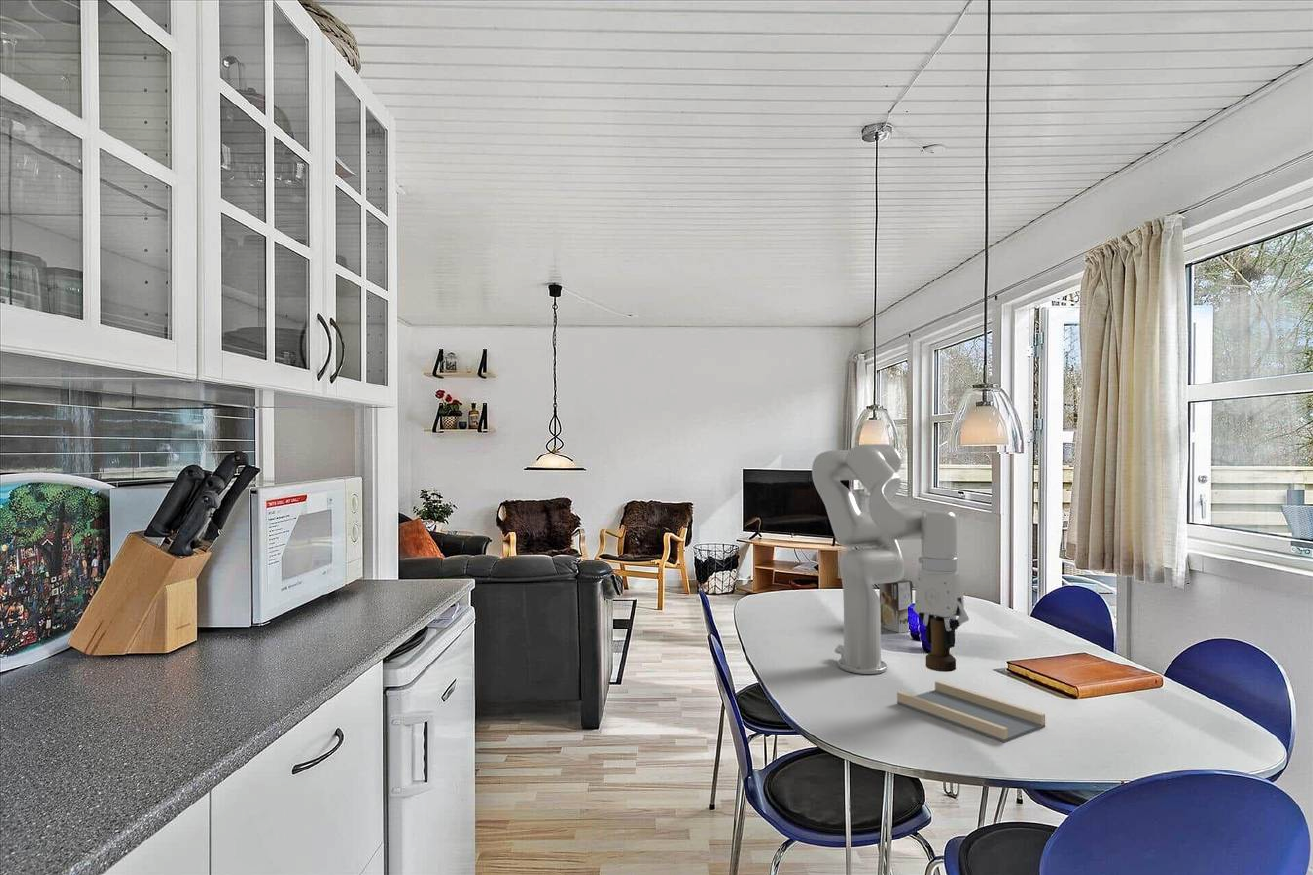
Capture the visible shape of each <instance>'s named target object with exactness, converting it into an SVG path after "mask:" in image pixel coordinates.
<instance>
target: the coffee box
mask: <svg viewBox="0 0 1313 875" xmlns="http://www.w3.org/2000/svg"><path fill="white" fill-rule="evenodd" d="M878 586H879V587H878V588H879V600H880V608H881V629H886V630H889V631H892V632H895V633H898V634H901V633H902V634H903V633H907V632H909V624H908V607H909V606H910V605H913V603H914V602H913V581H912V580H909V579H903V578H901V579H900V580H899V581H897V582H893V583H883V584H879V585H878ZM913 606H914V605H913Z"/></svg>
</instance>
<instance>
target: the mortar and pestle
mask: <svg viewBox="0 0 1313 875" xmlns="http://www.w3.org/2000/svg"><path fill="white" fill-rule="evenodd" d="M944 630H946V627H945V621H944V618H943V617H938V616H936V617H933V618H931V644H930V652H928V654H926V655H925V657H924V658H925V667H926V668H927V669H928V670H931V671H935V672H941V673H942V672H944V673H947V672H954V671H955V670H957V660H956V657H954V656H953V654H951V652H950V650H951V648H948V649H946V648H944V637H943V632H944Z"/></svg>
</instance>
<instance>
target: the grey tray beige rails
mask: <svg viewBox="0 0 1313 875" xmlns="http://www.w3.org/2000/svg"><path fill="white" fill-rule="evenodd" d="M896 697H897V698H896V703H897V705H900V706H903V707H905V708H908V709H911V710H914V711H916V712H919V713H922V714H924V715H928V716H931V717H933V718H935V719H939V720H940V721H944V722H947V723H950V724H953V725H955V726H958V727H960V728H963V729H965V730H969V731H972V732H975V733H977V734H980V735H983V736H986V737H988V738H990V739H993V740H996V741H999V742H1002V743H1006V742H1009V741H1011V740H1014V739H1016V738H1019V737H1022V736H1025V735H1027V734H1030V733H1032V732H1035V731H1038V730H1040V729H1043V728H1045V727H1046V714H1045V713H1042V712H1039V711H1036V710H1033V709H1030V708H1027V707H1024V706H1020V705H1016V704H1014V703H1011V702H1007V701H1004V700H1001V699H997V698H995V697H992V696H988V695H985V694H981V693H979V692H975V691H972V690H969V689H967V688H963V687H959V686H957V685H952V684H950V683H946V682H943V681H940V680H936V681H934V690H930V691H927V692H924V693H920V694H916V695H913V694H908V693H907V692H905V691H904V692H903V691H901V690H900V691H897V693H896Z"/></svg>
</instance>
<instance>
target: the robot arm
mask: <svg viewBox="0 0 1313 875" xmlns="http://www.w3.org/2000/svg"><path fill="white" fill-rule="evenodd" d="M901 466H902V457H901V455H900V452H899V450H897V449H896V447H894V446H893V445H890V444H882V443H881V444H877V443H875V444H874V443H873V444H871V443H868V444H865V443H864V444H857V445H855V446H853V447H852V448H850V449H849V450H848V449H847V450H843V449H841V450H839V449H838V450H835V449H833V450H826V451H823V452H820V453H818V455H816V456H815V458H814V460H813V463H812V466H811V467H812V468H811V475H812V481H813V484H814V486H815V489H816V491H817V493H818V495H819V496H820V499H821V500H822V502H823V504H824V506H825V509H826V513H827V516H828V520H829V523H830V526H831V530H832V532H833V534H834V537H835V540H836V541H837V544H839V545H840V546H841V547H845V548H855V549H851V550H848V551H846V552H845V553H843V554H842V556H841V557H840V560H839V573H840V577H841V578H840V579H841V582H842V591H843V644H837V647H835V648H834V653H835V654H838V655H839V654H840V657H841V658H840V659H839V660H838V661H837V663H838V664H837V665H838V667H839V668H840V669H842V670H843V671H845V672H850V673H854V674H860V675H877V674H881V673H885V672H886V671H887V670H888V664H887V663H886V662H885V661H883V660H882V642H881V641H882V638H881V637H882V632H881V631H882V627H881V608H880V596H879V595H878V594H877V591H876V590H875V589H874V586H873V585H878V584H883V583H893V582H897V581H899V580H900V579H903V578H904V576H905V572H906V571H905V570H906V568H905V567H906V566H905V560H904V557H903V554H902V551H901V548H900V544H899V543H898V541H908V540H910V541H911V540H921V557H920V556H919V557H918V562H919V564H921V568H919V569H918V572H917V576H916V583H915V591H914V592H915V594H914V597H915V598H914V605H913V612H915V613H916V614H917V615H918V616H919V619H921V620H922V624H923V626H925V643H926V644H928V645H931V618H933V617H936V616H938V617H943V618H944V621H945V627H946V630H944V632H943V637H944V648H946V649H948V648H949V649H951V648H954V647H955V645H956V630H958V629H959V627H960V626H962V624H964V623H967V622H969V621H970V619H969V618H970V617H969V616H968V615H967V612H966V610H965V606H964V605H965V602H964V592H963V591H964V590H963V584H962V579H961V574H960V572H958V546H957V545H958V542H957V541H958V540H957V539H958V537H957V534H958V533H957V530H958V528H957V524H958V523H957V516H956V515H955V513H954V512H952V511H948V510H937V509H935V508H931V507H930V508H929V507H901V508H900V507H899V508H897V507H895V506H893V505H892V503H890V501H889V500H890V499H891V498H892V497H894V496H895V495H896V494H897V493H898V492H899V490H900V488H901V486H902V481H901V480H902V479H901V477H900V476H899V474H898V472H899V471H900V469H901ZM841 481H859V482H860V483H861V485H862V486H863V488H865V490H866V491H867V492H868V493H869V495H868V496H869V497H868V510H869V511H862V510H860V508H859V506H858V504H857V500H856V498H855V496H854V495H853V493H852V492H851V490H850V489H849V488H848V487H847V486H846V485H844V484H843V483H842V482H841ZM863 547H865V548H863ZM867 547H869V548H867Z"/></svg>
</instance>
